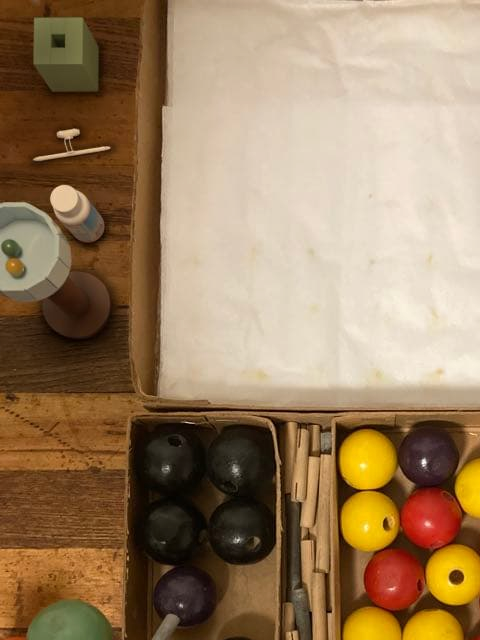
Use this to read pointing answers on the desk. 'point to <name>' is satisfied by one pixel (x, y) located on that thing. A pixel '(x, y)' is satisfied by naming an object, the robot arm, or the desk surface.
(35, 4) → the stick
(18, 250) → the green bead
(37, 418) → the desk surface
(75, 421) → the desk surface
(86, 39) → the stand
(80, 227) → the pill bottle
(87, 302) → the pedestal
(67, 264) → the bowl
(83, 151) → the picture light
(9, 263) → the yellow bead
